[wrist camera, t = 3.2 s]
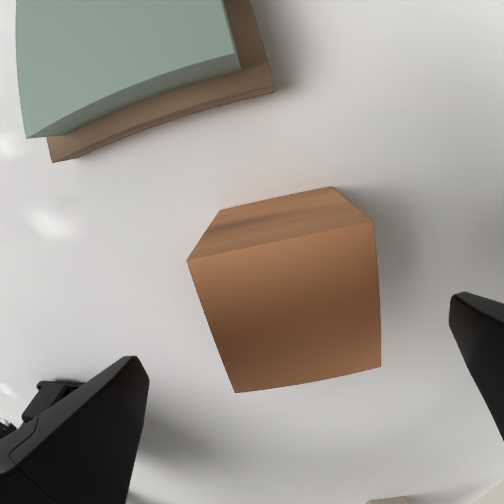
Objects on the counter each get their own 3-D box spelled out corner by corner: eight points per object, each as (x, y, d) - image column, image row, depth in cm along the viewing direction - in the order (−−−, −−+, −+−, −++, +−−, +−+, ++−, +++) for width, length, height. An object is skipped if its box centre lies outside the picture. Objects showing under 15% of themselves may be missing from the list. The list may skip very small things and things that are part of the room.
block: (346, 286, 15) (380, 366, 9) (246, 306, 16) (234, 392, 10) (330, 186, 13) (373, 221, 8) (219, 210, 14) (186, 260, 8)
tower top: (241, 71, 10) (234, 53, 8) (62, 135, 11) (26, 138, 9) (202, -72, 7) (190, -102, 5) (47, -3, 8) (17, -17, 6)
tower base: (273, 94, 12) (273, 85, 10) (80, 157, 14) (52, 162, 11) (223, -65, 9) (216, -90, 7) (56, 6, 11) (31, -5, 8)
